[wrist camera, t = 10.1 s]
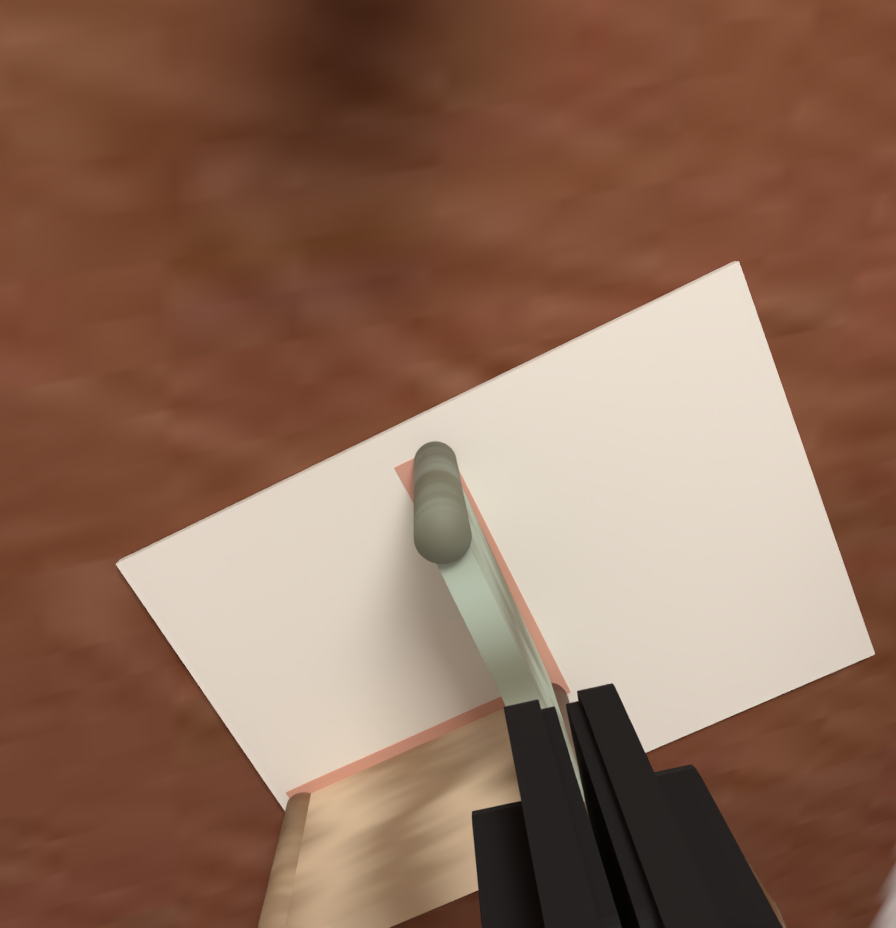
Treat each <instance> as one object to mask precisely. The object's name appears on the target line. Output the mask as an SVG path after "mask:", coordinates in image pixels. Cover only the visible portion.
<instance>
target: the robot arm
mask: <svg viewBox="0 0 896 928" xmlns="http://www.w3.org/2000/svg"><path fill="white" fill-rule="evenodd" d="M577 696H578V701H576V702H571V703H567V704H566V709H567V714H568V719H569V724H570V729H571V734H572V739H573V744H574V749H575V754H576V759H577V764H578V769H579V774H580V779H581V783H582V788H583V793H584V798H585V803H586V807H585V804H584V801H583V797H582V794H581V791H580V787H579V784H578V781H577V778H576V774H575V771H574V768H573V764H572V761H571V758H570V754H569V751H568V748H567V745H566V741H565V738H564V735H563V731H562V728H561V725H560V721H559V718H558V715H557V712H556V708H555V706H553V707H548V708H544V709H541V707H540V703H539V700H538V699H537V700H532V701H528V702H523V703H519V704H514V705H509V706H505V707H504V713H505V718H506V723H507V729H508V734H509V739H510V744H511V750H512V755H513V760H514V766H515V771H516V776H517V781H518V787H519V792H520V797H521V801H518V802H513V803H508V804H504V805H499V806H494V807H490V808H485V809H480V810H475V811H472V828H473V839H474V849H475V860H476V870H477V881H478V891H479V902H480V912H481V923H482V928H783V927H782V925H781V923H780V922H779V920H778V918H777V916H776V914H775V912H774V911H773V909H772V907H771V905H770V903H769V901H768V899H767V898H766V896H765V894H764V892H763V890H762V888H761V887H760V885H759V883H758V881H757V879H756V877H755V876H754V874H753V872H752V870H751V868H750V866H749V864H748V863H747V861H746V859H745V857H744V855H743V853H742V852H741V850H740V848H739V846H738V844H737V842H736V840H735V839H734V837H733V835H732V833H731V831H730V829H729V828H728V826H727V824H726V822H725V820H724V818H723V816H722V815H721V813H720V811H719V809H718V807H717V805H716V804H715V802H714V800H713V798H712V796H711V794H710V793H709V791H708V789H707V787H706V785H705V783H704V781H703V780H702V778H701V776H700V774H699V773H698V771H697V770H696V768H695V767H694V766H693V765H692V764H691V765H687V766H682V767H677V768H673V769H668V770H663V771H659V772H654V771H653V769H652V766H651V764H650V762H649V760H648V758H647V755H646V753H645V751H644V749H643V747H642V745H641V742H640V740H639V738H638V736H637V734H636V731H635V729H634V727H633V725H632V723H631V720H630V718H629V716H628V714H627V712H626V709H625V707H624V705H623V703H622V701H621V699H620V696H619V694H618V692H617V690H616V688H615V686H614V684H613V683H611V684H606V685H602V686H597V687H593V688H588V689H583V690H579V691H577ZM586 808H587V811H586ZM587 813H588V814H587Z"/></svg>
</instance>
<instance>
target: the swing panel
mask: <svg viewBox="0 0 896 928" xmlns="http://www.w3.org/2000/svg"><path fill="white" fill-rule="evenodd" d="M414 544H415V547H416V549H417V551H418V552H419V554H420V555H421V556H422V557H423V558H425V559H426V560H428V561H430V562H432V563H436V564H437V566H438V568H439V570H440V572H441V574H442V576H443V578H444V580H445V582H446V584H447V586H448V588H449V590H450V593H451V595H452V597H453V599H454V601H455V603H456V605H457V607H458V609H459V611H460V613H461V615H462V617H463V619H464V621H465V623H466V625H467V627H468V629H469V632H470V634H471V636H472V638H473V640H474V642H475V644H476V646H477V648H478V650H479V652H480V654H481V656H482V658H483V660H484V662H485V664H486V666H487V668H488V671H489V673H490V675H491V677H492V679H493V681H494V683H495V685H496V687H497V689H498V691H499V693H500V695H501V697H502V699H503V701H504V703H505V705H506V706H509V705H514V704H519V703H523V702H528V701H532V700H537V699H538V700H539V703H540V707H541V709H544V708H548V707H553V706H555V708H556V712H557V715H558V718H559V721H560V725H561V728H562V731H563V735H564V738H565V741H566V745H567V748H568V751H569V754H570V758H571V761H572V764H573V768H574V771H575V774H576V778H577V781H578V784H579V787H580V791H581V794H582V797H583V801H584V802H585V798H584V793H583V788H582V783H581V779H580V774H579V769H578V765H577V762H576V759H575V756H574V753H573V750H572V747H571V743H570V740H569V737H568V734H567V731H566V728H565V725H564V722H563V719H562V715H561V712H560V709H559V706H558V703H557V700H556V697H555V694H554V690H553V687H552V684H551V681H550V678H549V675H548V673H547V670H546V668H545V666H544V664H543V662H542V659H541V657H540V655H539V653H538V651H537V649H536V646H535V644H534V642H533V640H532V638H531V635H530V633H529V631H528V629H527V627H526V625H525V622H524V620H523V618H522V616H521V614H520V612H519V609H518V607H517V605H516V603H515V601H514V598H513V596H512V594H511V592H510V590H509V588H508V585H507V583H506V581H505V579H504V577H503V574H502V572H501V570H500V568H499V566H498V564H497V561H496V559H495V557H494V555H493V553H492V551H491V548H490V546H489V544H488V542H487V540H486V537H485V535H484V533H483V531H482V529H481V527H480V524H479V522H478V520H477V518H476V516H475V514H474V511H473V509H472V507H471V505H470V503H469V500H468V498H467V496H466V494H465V492H464V490H463V487H462V484H461V479H460V474H459V469H458V464H457V460H456V455H455V453H454V451H453V450H452V449H451V447H449V446H448V445H447V444H445V443H442V442H438V441H433V442H428V443H426V444H424V445H423V446H421V447H420V448H419V449H418V451H417V452H416V454H415V457H414Z"/></svg>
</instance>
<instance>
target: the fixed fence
mask: <svg viewBox="0 0 896 928" xmlns="http://www.w3.org/2000/svg"><path fill="white" fill-rule="evenodd" d="M551 684H552V687H553V690H554V694H555V697H556V700H557V703H558V706H559V709H560V712H561V715H562V719H563V722H564V725H565V728H566V731H567V734H568V737H569V740H570V743H571V747H572V750H573V753H574V756H575V759H576V754H575V749H574V744H573V739H572V734H571V729H570V724H569V719H568V714H567V709H566V704H567V703H570V702H569V699H568V696H567V693H566V691H565V690H564V689H563V688H562V687H561V686H560V685H558V684H555V683H551ZM576 762H577V759H576ZM577 765H578V764H577ZM518 801H521V797H520V792H519V787H518V781H517V776H516V771H515V766H514V760H513V755H512V750H511V744H510V739H509V734H508V729H507V723H506V718H505V713H504V708H503V709H500V710H498V711H496V712H494V713H491V714H489V715H487V716H485V717H482V718H480V719H478V720H476V721H473V722H471V723H469V724H466V725H464V726H462V727H460V728H457V729H455V730H453V731H451V732H448V733H446V734H444V735H442V736H439V737H437V738H435V739H433V740H430V741H428V742H426V743H424V744H421V745H419V746H417V747H415V748H412V749H410V750H408V751H406V752H403V753H401V754H399V755H396V756H394V757H392V758H390V759H387V760H385V761H383V762H381V763H378V764H376V765H374V766H372V767H369V768H367V769H365V770H363V771H360V772H358V773H356V774H354V775H351V776H349V777H347V778H345V779H342V780H340V781H338V782H335V783H333V784H331V785H329V786H326V787H324V788H322V789H320V790H317V791H315V792H313V793H307V792H302V793H298V794H295V795H293V796H292V797H291V798H290V799H289V800H288V802H287V805H286V810H285V814H284V818H283V823H282V827H281V831H280V835H279V840H278V844H277V848H276V852H275V857H274V861H273V865H272V869H271V874H270V878H269V882H268V887H267V891H266V895H265V899H264V904H263V908H262V912H261V916H260V921H259V925H258V928H389V927H392V926H394V925H397V924H399V923H401V922H404V921H406V920H408V919H411V918H413V917H416V916H418V915H420V914H423V913H425V912H427V911H430V910H432V909H435V908H437V907H439V906H442V905H444V904H447V903H449V902H451V901H454V900H456V899H458V898H461V897H463V896H466V895H468V894H470V893H473V892H475V891H477V890H478V881H477V870H476V860H475V849H474V839H473V828H472V811H475V810H480V809H485V808H490V807H494V806H499V805H504V804H508V803H513V802H518ZM584 804H585V807H586V803H585V802H584ZM586 811H587V808H586ZM587 814H588V813H587Z"/></svg>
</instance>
